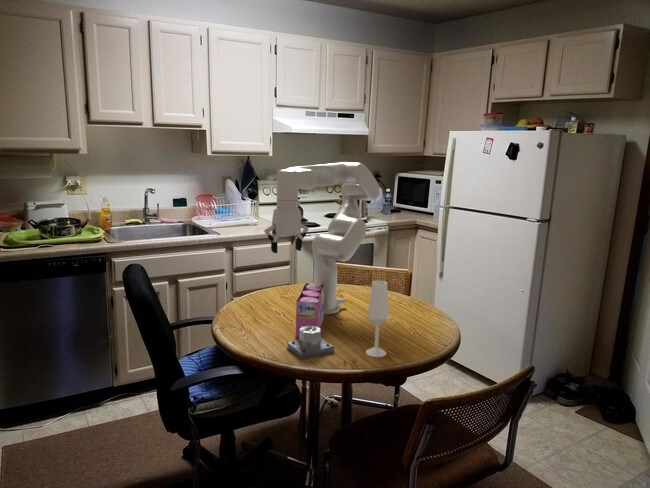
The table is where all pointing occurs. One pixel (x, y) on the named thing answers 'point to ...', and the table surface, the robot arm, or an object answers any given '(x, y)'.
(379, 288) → the champagne flute
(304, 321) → the gum box
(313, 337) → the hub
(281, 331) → the table surface
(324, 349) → the shaft block
